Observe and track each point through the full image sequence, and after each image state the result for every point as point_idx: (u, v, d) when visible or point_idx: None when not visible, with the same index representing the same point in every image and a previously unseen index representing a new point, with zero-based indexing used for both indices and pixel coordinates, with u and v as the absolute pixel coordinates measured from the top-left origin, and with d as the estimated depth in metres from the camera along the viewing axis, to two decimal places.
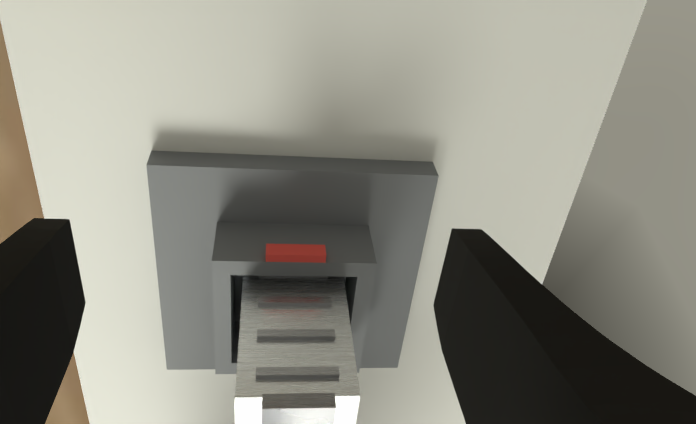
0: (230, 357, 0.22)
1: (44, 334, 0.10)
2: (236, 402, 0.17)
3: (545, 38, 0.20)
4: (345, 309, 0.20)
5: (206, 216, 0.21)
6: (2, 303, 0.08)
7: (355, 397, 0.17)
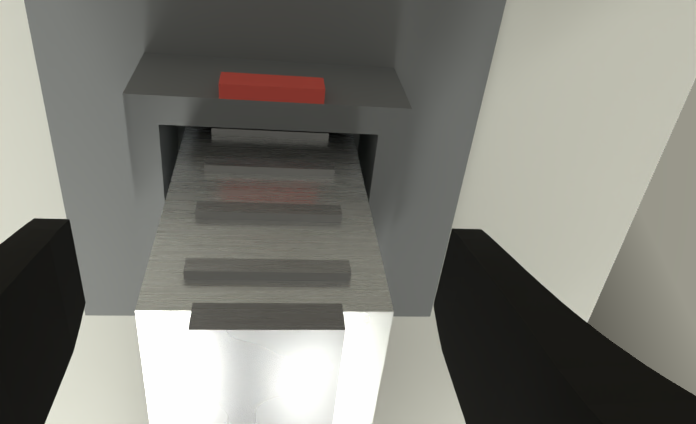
0: None
1: (44, 334, 0.10)
2: (139, 321, 0.08)
3: None
4: (359, 181, 0.11)
5: (125, 41, 0.13)
6: (2, 303, 0.08)
7: (383, 315, 0.08)
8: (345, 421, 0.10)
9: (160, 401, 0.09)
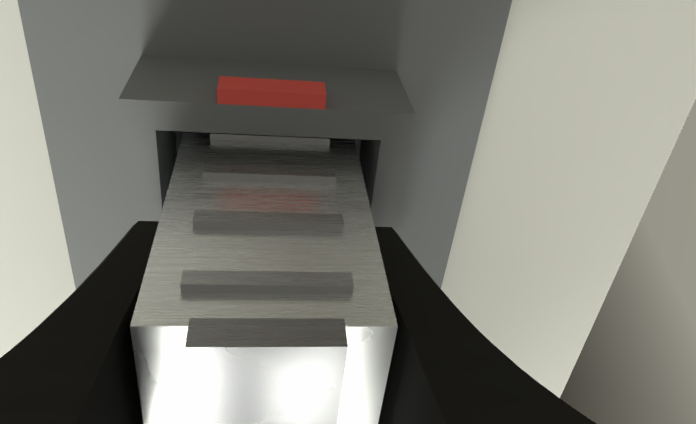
0: None
1: None
2: (135, 337, 0.08)
3: None
4: (361, 189, 0.11)
5: (121, 44, 0.12)
6: (134, 304, 0.09)
7: (387, 330, 0.08)
8: None
9: (156, 417, 0.09)
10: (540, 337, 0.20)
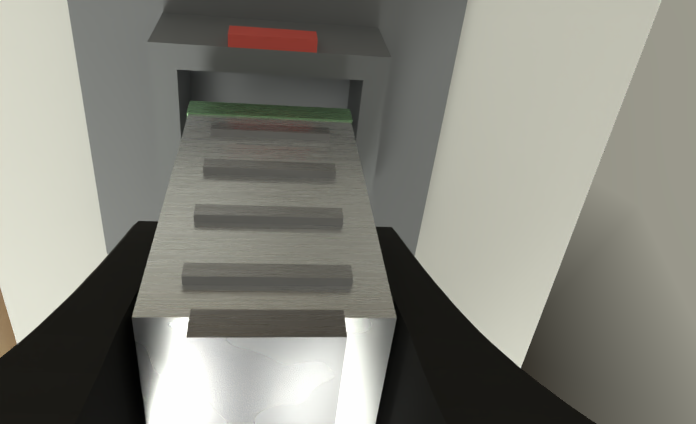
0: None
1: None
2: (136, 328, 0.08)
3: None
4: (360, 183, 0.11)
5: (146, 2, 0.15)
6: (134, 304, 0.09)
7: (386, 321, 0.08)
8: None
9: (158, 408, 0.09)
10: (512, 278, 0.23)
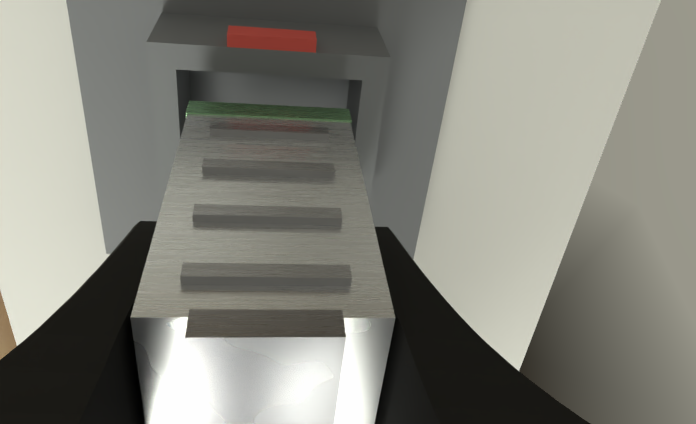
0: None
1: None
2: (135, 328, 0.08)
3: None
4: (359, 183, 0.11)
5: (146, 2, 0.15)
6: None
7: (385, 321, 0.08)
8: None
9: (157, 408, 0.09)
10: (512, 278, 0.23)
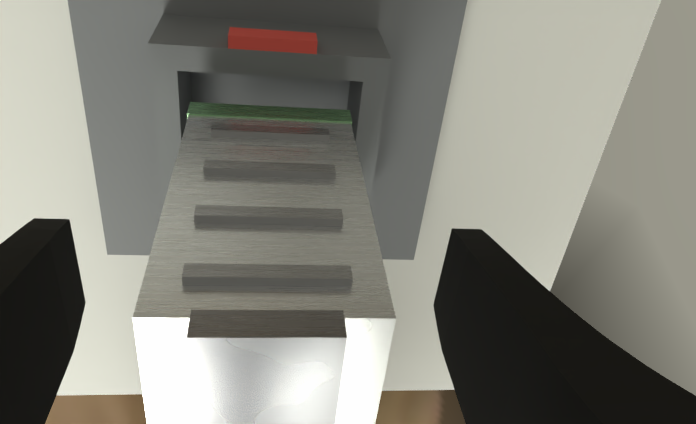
0: None
1: (44, 334, 0.10)
2: (137, 328, 0.08)
3: None
4: (360, 184, 0.11)
5: (147, 3, 0.15)
6: (2, 303, 0.08)
7: (385, 322, 0.08)
8: None
9: (158, 408, 0.09)
10: None
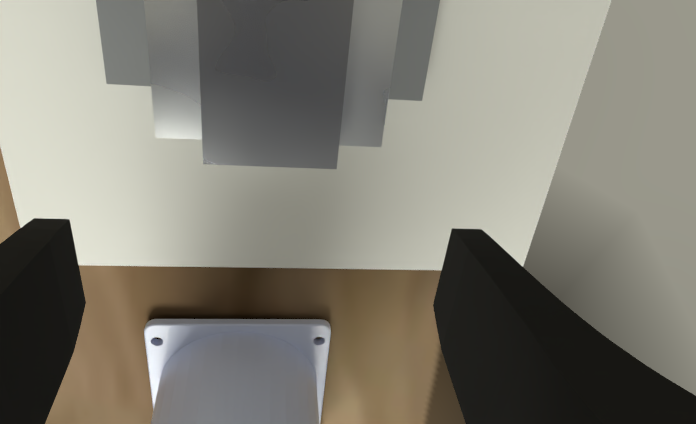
0: None
1: (44, 334, 0.10)
2: None
3: None
4: None
5: None
6: (2, 303, 0.08)
7: None
8: (361, 81, 0.09)
9: (161, 31, 0.08)
10: (522, 137, 0.22)
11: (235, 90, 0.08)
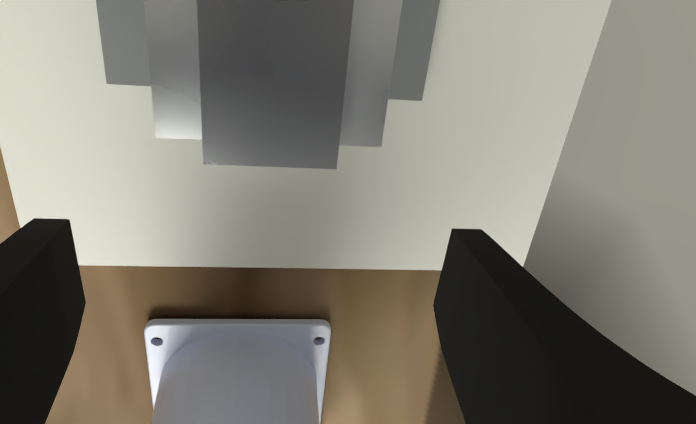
0: None
1: (44, 334, 0.10)
2: None
3: None
4: None
5: None
6: (2, 303, 0.08)
7: None
8: (361, 81, 0.09)
9: (161, 31, 0.08)
10: (522, 137, 0.22)
11: (235, 90, 0.08)
